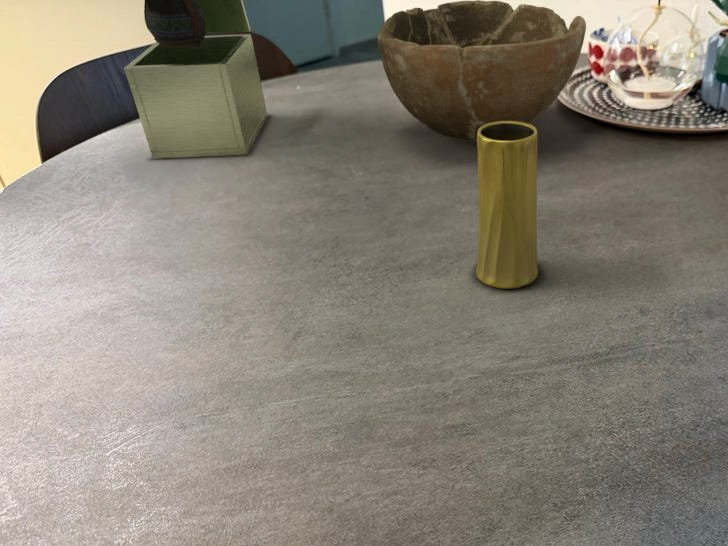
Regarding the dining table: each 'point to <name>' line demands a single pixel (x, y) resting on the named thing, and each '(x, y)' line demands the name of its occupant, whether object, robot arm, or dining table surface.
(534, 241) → the vase
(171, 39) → the mate gourd
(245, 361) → the dining table surface
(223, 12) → the bin lid
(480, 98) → the bowl
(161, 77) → the bin
